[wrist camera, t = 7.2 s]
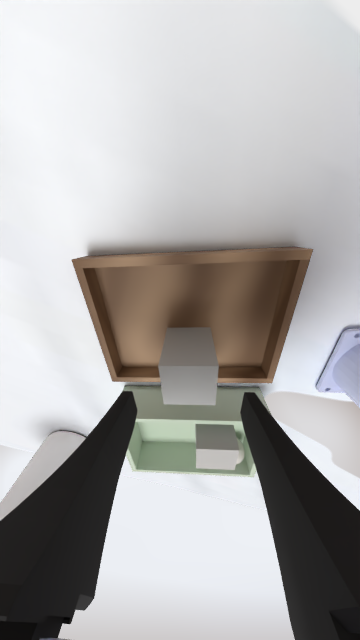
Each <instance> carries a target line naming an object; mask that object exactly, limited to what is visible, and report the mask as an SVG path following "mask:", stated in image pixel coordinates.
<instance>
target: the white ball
mask: <svg viewBox="0 0 360 640" xmlns="http://www.w3.org/2000/svg"><path fill="white" fill-rule="evenodd" d="M236 438H237V437H236ZM237 442H238V447H239V454H238V458H237V462H236V464H239V463H241V462H242V460H243V459H244V456H245V450H244V446H243V444H242V442H241V441H240V440H239V439H238V438H237Z"/></svg>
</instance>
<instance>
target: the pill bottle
mask: <svg viewBox="0 0 360 640" xmlns="http://www.w3.org/2000/svg"><path fill="white" fill-rule="evenodd" d="M85 439H86V438H85V437H84V436H82V435H79V434H76V433H73V432H67V431H58V432H54V433H52V434H50V435H49V436H48V437H47V438H46V439H45V441H44V442H43V443H42V445H41V446H40V448H39V449H38V450H37V452H36V453H35V455H34V456H33V457H32V459H31V460H30V462H29V463H28V465H27V466H26V467H25V469H24V470H23V472H22V473H21V475H20V476H19V478H18V479H17V480H16V482H15V483H14V484H13V486H12V488H11V489H10V490H9V492H8V493H7V494H6V496H5V497H4V499H3V500H2V501H1V503H0V520H2V519H3V518H4V517H5V516H6V515H8V514H9V513H10V512H11V511H12V510H13V509H15V508H16V507H17V506H18V505H19V504H20V503H21V502H22V501H23V500H25V499H26V498H27V497H28V496H29V495H30V494H31V493H32V492H33V491H35V490H36V489H37V488H38V487H39V486H40V485H41V484H42V483H43V482H44V481H45V480H46V479H47V478H48V477H50V476H51V475H52V474H53V473H54V472H55V471H56V470H57V469H58V468H59V467H60V466H61V465H62V464H63V463H64V462H65V461H66V460H67V458H68V457H69V456H70V455H71V454H72V453H73V452H74V451H75V450H76V449H77V448H78V447H79V446H80V444H81V443H82V442H83V441H84V440H85Z"/></svg>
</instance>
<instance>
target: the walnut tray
mask: <svg viewBox="0 0 360 640" xmlns="http://www.w3.org/2000/svg"><path fill="white" fill-rule="evenodd" d="M312 252H313V249H307V248H300V247H281V248H258V249H236V250H213V251H190V252H168V253H145V254H122V255H99V256H85V257H81V258H77V259H72V262H73V265H74V268H75V271H76V274H77V277H78V280H79V283H80V286H81V289H82V292H83V295H84V298H85V301H86V304H87V307H88V310H89V313H90V316H91V319H92V322H93V325H94V328H95V331H96V334H97V337H98V340H99V343H100V346H101V349H102V352H103V355H104V358H105V361H106V364H107V367H108V370H109V372H110V375H111V378H112V381H114V382H160V375H159V368H158V365H159V361H160V356H161V352H162V348H163V344H164V339H165V335H166V331H167V328H192V327H210V328H211V333H212V337H213V342H214V346H215V351H216V356H217V360H218V365H219V369H218V381H217V383H272V382H273V378H274V375H275V372H276V369H277V365H278V362H279V359H280V356H281V352H282V349H283V346H284V343H285V339H286V336H287V333H288V330H289V326H290V323H291V320H292V317H293V313H294V310H295V307H296V304H297V300H298V297H299V294H300V291H301V287H302V284H303V281H304V278H305V274H306V271H307V268H308V265H309V261H310V258H311V255H312Z"/></svg>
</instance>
